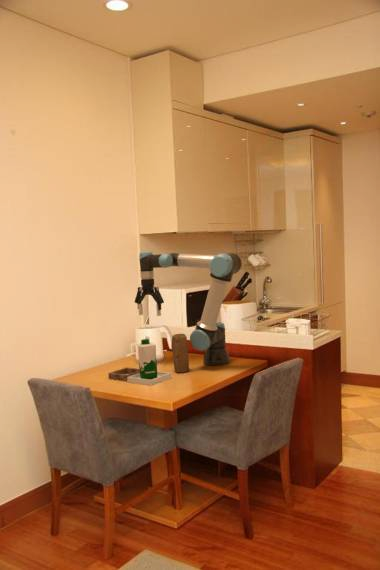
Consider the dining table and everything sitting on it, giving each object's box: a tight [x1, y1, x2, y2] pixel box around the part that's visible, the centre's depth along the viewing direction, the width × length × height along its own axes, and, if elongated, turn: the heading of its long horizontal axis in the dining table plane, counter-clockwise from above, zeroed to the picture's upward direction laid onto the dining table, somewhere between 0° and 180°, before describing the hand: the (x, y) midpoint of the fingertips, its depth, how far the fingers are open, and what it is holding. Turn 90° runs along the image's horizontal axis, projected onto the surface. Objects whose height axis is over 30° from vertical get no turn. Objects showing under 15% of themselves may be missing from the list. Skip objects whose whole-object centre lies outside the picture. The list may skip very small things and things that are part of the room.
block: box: [171, 333, 190, 373], centre depth 293 cm, size 11×8×20 cm
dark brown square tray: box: [108, 366, 140, 382], centre depth 288 cm, size 14×14×3 cm
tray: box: [126, 370, 173, 386], centre depth 279 cm, size 16×16×3 cm
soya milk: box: [137, 338, 158, 380], centre depth 278 cm, size 9×9×20 cm
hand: (149, 315), depth 312 cm, fingers open, 13 cm apart
